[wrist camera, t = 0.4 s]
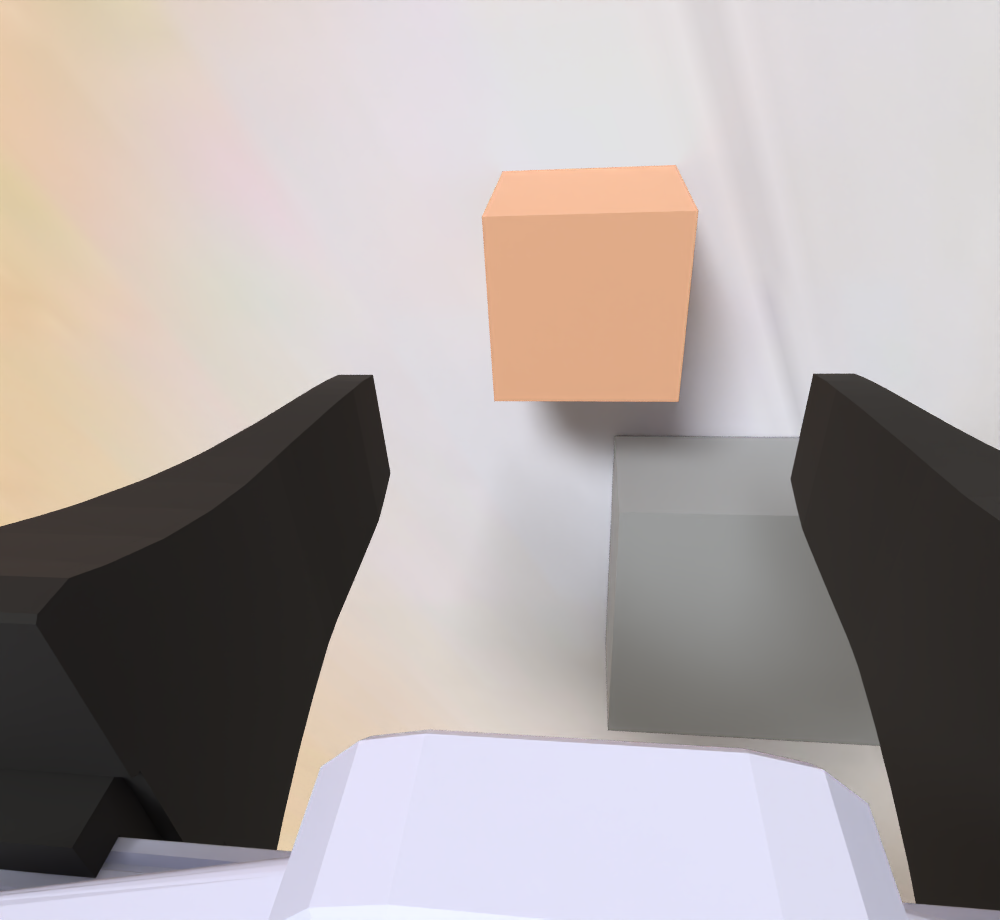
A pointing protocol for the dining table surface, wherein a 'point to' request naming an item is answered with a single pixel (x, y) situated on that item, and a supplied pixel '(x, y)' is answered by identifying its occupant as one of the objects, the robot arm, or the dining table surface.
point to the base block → (722, 599)
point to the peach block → (589, 283)
